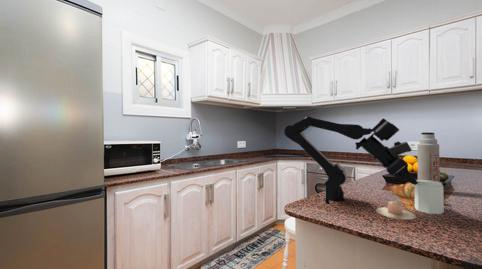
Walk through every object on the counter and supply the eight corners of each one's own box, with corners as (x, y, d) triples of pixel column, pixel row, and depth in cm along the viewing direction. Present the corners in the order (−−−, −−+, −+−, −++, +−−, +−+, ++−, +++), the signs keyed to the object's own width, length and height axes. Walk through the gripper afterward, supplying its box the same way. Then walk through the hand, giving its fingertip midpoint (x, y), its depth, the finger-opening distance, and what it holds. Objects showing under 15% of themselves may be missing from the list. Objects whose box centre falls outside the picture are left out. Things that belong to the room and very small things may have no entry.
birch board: (381, 221, 71) (381, 217, 71) (372, 209, 81) (372, 206, 81) (422, 224, 67) (422, 220, 67) (407, 212, 78) (407, 209, 78)
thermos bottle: (444, 193, 101) (443, 132, 101) (424, 192, 102) (424, 132, 102) (432, 189, 109) (431, 132, 109) (414, 188, 110) (413, 132, 110)
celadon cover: (421, 216, 74) (421, 183, 74) (412, 209, 81) (411, 179, 81) (447, 218, 72) (447, 184, 72) (435, 211, 79) (435, 180, 79)
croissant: (447, 213, 86) (453, 194, 87) (434, 204, 83) (440, 184, 84) (392, 198, 106) (398, 182, 107) (380, 190, 102) (385, 174, 104)
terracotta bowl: (390, 214, 73) (390, 203, 73) (386, 210, 77) (386, 200, 77) (404, 215, 72) (404, 204, 72) (399, 211, 76) (399, 201, 76)
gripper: (398, 134, 73) (443, 170, 68) (391, 134, 89) (426, 162, 84) (371, 157, 76) (411, 193, 71) (369, 153, 93) (401, 181, 88)
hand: (413, 181), depth 78 cm, fingers open, 9 cm apart
